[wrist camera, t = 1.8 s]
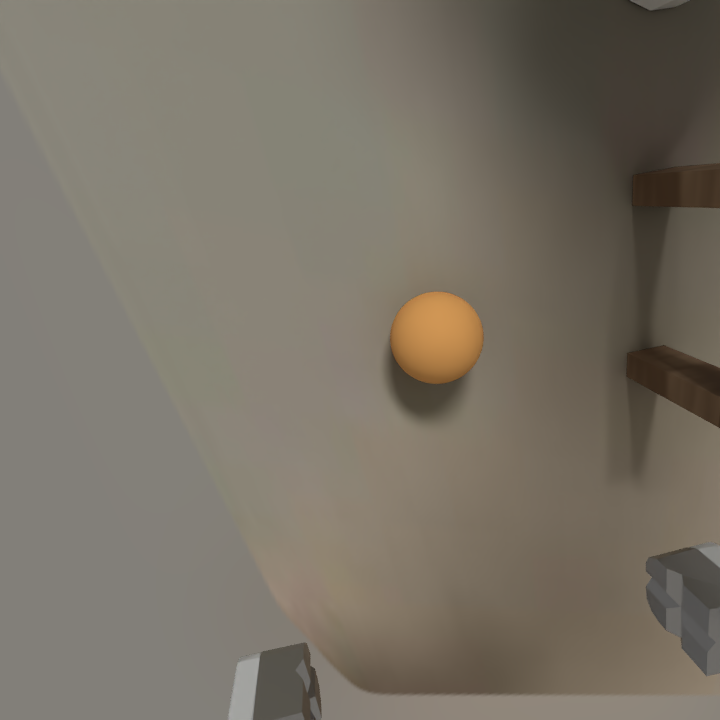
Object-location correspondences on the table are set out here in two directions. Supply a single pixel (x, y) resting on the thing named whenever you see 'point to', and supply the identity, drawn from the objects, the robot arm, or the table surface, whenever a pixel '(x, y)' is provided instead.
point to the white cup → (658, 3)
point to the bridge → (663, 364)
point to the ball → (436, 337)
